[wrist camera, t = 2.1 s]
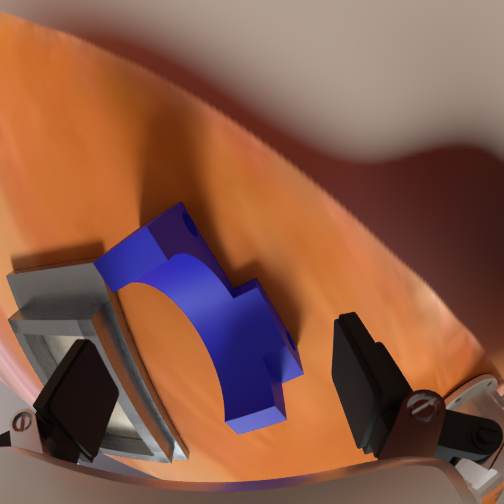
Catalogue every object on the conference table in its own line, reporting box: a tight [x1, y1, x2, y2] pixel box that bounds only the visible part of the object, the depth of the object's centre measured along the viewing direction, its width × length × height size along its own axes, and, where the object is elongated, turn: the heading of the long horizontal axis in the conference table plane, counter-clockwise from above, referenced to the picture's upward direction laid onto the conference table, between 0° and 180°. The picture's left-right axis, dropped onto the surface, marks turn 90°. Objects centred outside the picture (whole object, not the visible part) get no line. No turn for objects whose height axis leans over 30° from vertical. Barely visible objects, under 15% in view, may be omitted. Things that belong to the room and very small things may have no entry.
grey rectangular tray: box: [6, 257, 189, 463], centre depth 18 cm, size 10×22×3 cm, turn 7°
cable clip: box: [93, 202, 304, 434], centre depth 14 cm, size 12×4×6 cm, turn 28°
